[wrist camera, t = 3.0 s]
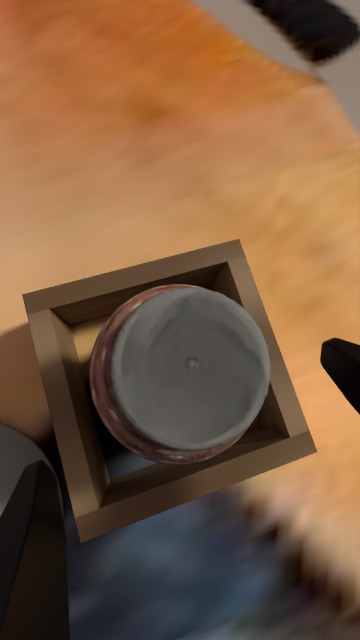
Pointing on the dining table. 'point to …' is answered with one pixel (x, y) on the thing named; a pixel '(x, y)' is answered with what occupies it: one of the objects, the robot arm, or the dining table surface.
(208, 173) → the dining table surface
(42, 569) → the robot arm
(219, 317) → the supplement bottle
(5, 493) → the rubber mat
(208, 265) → the walnut box
